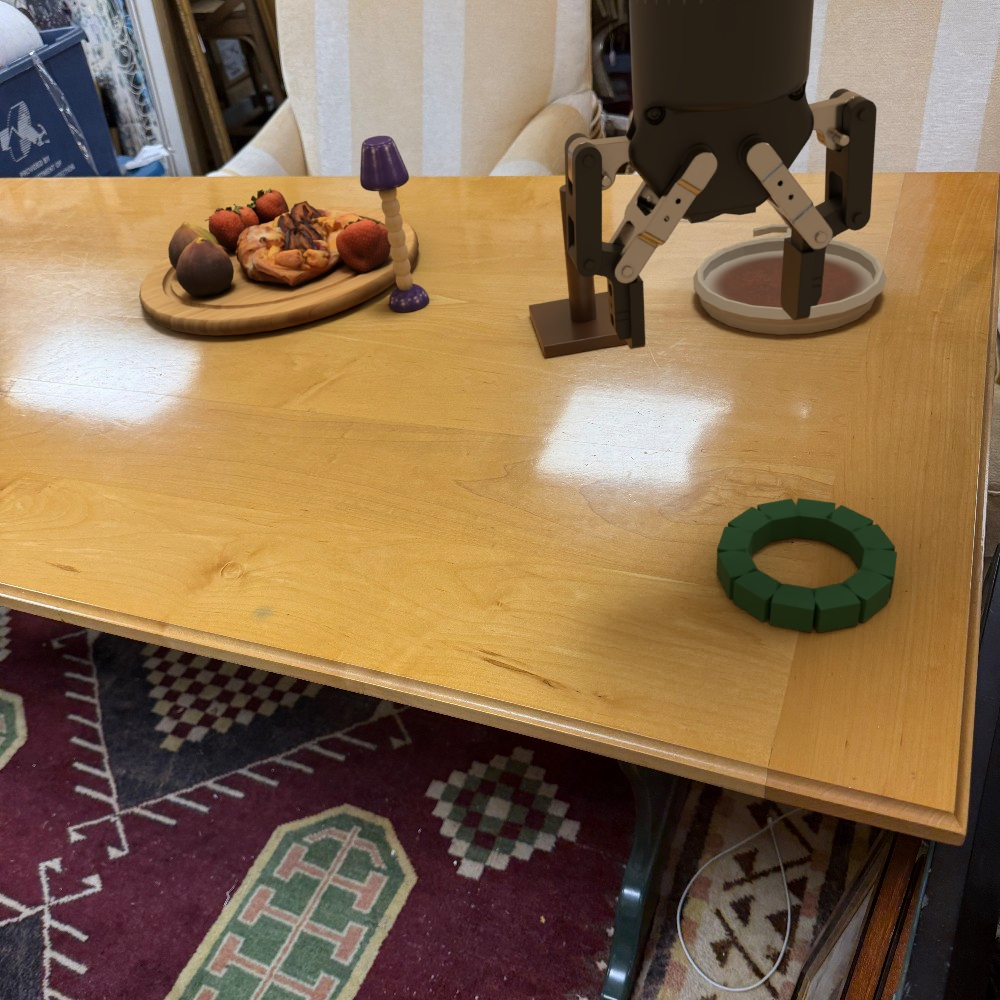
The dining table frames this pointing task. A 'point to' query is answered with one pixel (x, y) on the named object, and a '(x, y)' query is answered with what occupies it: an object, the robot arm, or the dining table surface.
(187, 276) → the wooden plate
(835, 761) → the dining table surface
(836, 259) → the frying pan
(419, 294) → the toy lamp
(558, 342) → the post
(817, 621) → the ring
